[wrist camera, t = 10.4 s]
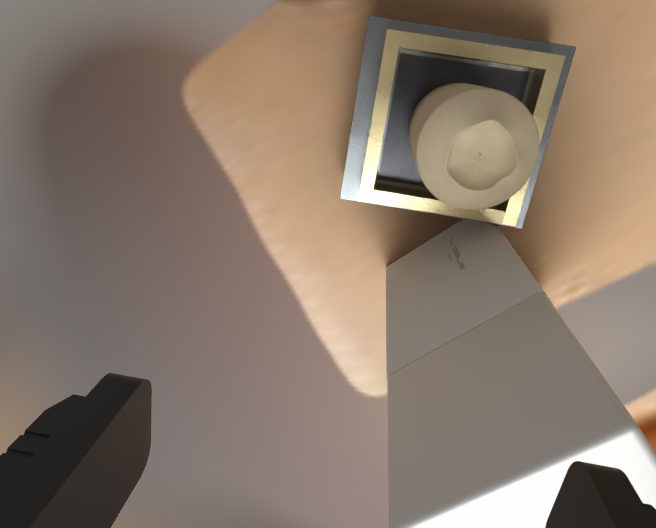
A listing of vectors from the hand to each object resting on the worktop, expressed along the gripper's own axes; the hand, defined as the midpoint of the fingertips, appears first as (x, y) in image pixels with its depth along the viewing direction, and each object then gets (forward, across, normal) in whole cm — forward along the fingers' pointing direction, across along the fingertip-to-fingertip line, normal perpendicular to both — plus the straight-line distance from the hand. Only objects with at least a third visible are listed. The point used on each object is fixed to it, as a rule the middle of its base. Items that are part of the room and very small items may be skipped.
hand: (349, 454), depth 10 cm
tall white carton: (+30, -8, +8) cm, 32 cm away
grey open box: (+30, -4, -4) cm, 31 cm away
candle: (+25, -4, -4) cm, 26 cm away
